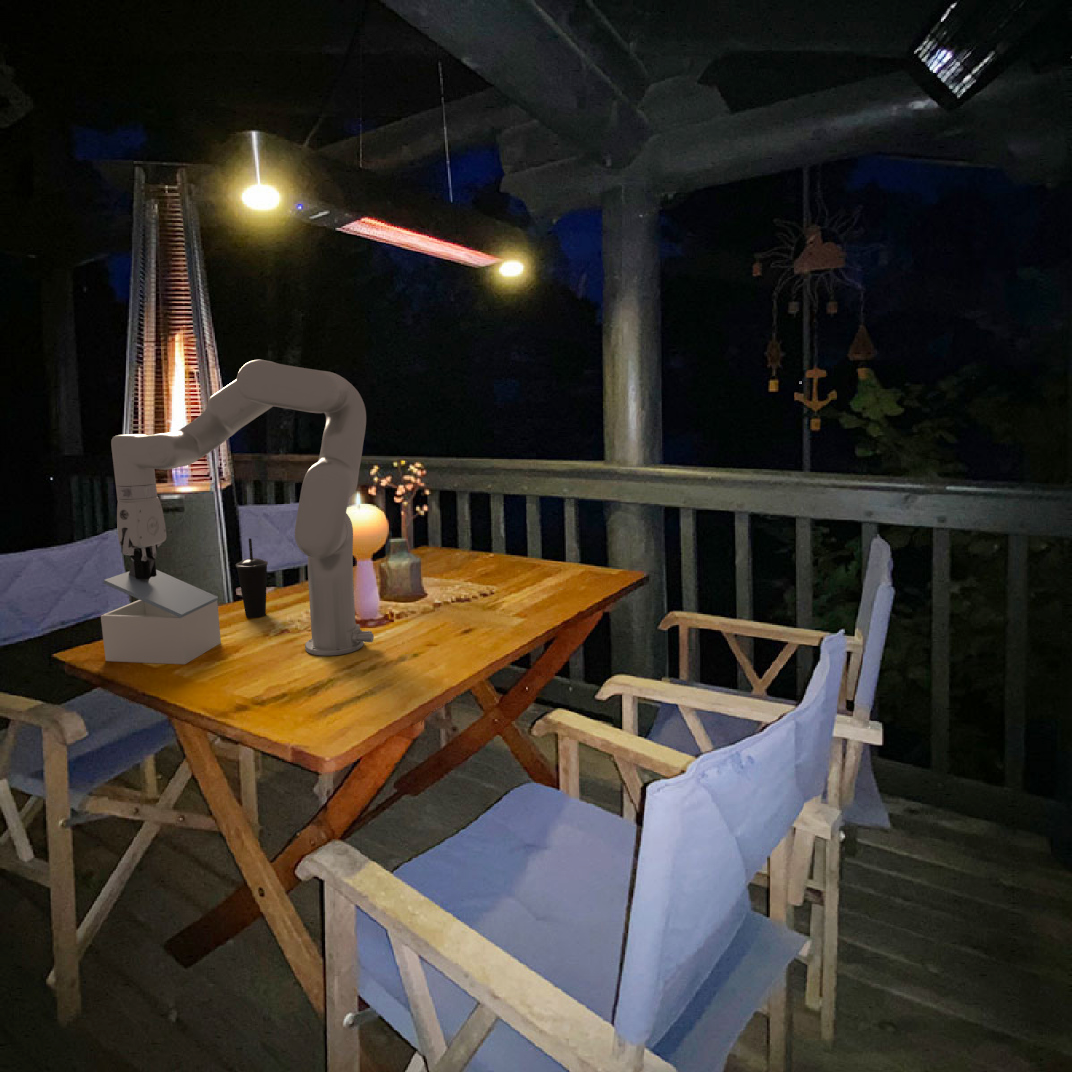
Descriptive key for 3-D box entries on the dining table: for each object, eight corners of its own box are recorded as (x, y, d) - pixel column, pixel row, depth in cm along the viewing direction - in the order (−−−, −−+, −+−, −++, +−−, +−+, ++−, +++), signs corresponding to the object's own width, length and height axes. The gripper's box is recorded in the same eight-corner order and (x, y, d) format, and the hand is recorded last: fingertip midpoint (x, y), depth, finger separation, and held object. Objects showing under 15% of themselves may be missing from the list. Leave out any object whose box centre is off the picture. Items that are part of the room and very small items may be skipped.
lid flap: (217, 600, 168) (224, 577, 167) (180, 617, 155) (188, 593, 154) (145, 568, 169) (152, 545, 168) (103, 583, 156) (110, 558, 154)
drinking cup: (238, 620, 187) (231, 542, 184) (241, 612, 195) (235, 536, 191) (270, 618, 189) (264, 540, 186) (272, 610, 197) (267, 535, 193)
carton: (220, 642, 170) (217, 600, 168) (185, 664, 157) (180, 618, 155) (147, 640, 172) (143, 598, 171) (105, 661, 159) (100, 615, 157)
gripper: (129, 497, 151) (139, 586, 154) (175, 488, 166) (183, 569, 169) (95, 497, 151) (105, 586, 155) (143, 488, 167) (152, 569, 170)
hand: (146, 577), depth 162 cm, fingers closed
